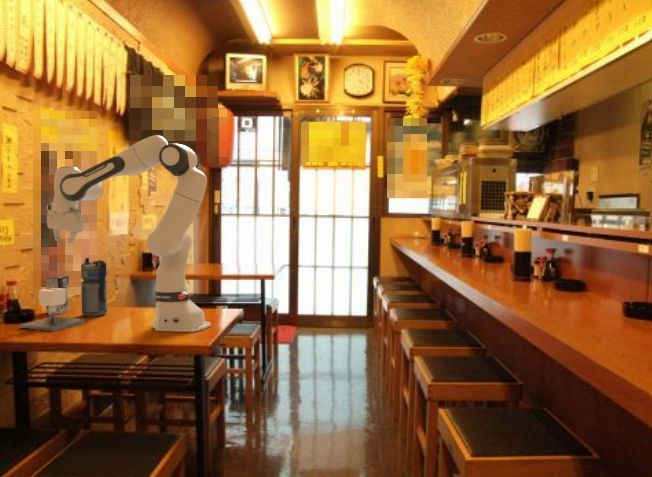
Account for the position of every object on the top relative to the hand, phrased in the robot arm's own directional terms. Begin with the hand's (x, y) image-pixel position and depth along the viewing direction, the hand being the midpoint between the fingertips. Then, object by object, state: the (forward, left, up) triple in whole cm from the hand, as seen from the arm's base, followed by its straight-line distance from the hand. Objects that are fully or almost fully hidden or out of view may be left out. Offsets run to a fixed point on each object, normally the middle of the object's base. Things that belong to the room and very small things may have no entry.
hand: (64, 241), depth 198 cm
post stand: (+3, +4, -33) cm, 34 cm away
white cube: (+3, +4, -25) cm, 25 cm away
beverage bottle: (+2, -18, -34) cm, 38 cm away
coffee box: (+23, -18, -34) cm, 44 cm away
